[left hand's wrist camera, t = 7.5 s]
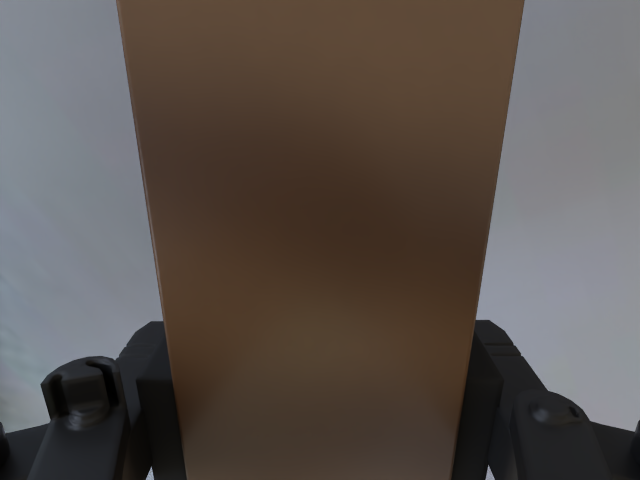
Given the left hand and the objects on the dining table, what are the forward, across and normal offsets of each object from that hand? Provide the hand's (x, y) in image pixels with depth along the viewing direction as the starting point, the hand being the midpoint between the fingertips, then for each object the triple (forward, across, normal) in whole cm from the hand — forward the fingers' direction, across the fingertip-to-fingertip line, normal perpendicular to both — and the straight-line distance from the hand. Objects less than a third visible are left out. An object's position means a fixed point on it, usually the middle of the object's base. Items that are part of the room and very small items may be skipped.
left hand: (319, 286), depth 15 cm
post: (+1, 0, -22) cm, 22 cm away
